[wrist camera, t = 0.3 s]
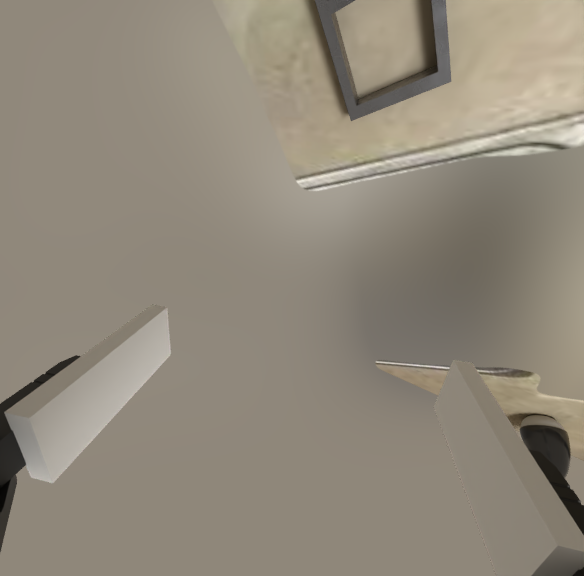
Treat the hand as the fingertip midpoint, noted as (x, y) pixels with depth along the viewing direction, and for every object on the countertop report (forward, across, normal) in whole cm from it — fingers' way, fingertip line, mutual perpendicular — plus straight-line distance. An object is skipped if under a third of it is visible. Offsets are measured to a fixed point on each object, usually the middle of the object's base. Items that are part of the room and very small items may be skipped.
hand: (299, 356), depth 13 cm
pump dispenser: (+60, +66, -51) cm, 103 cm away
